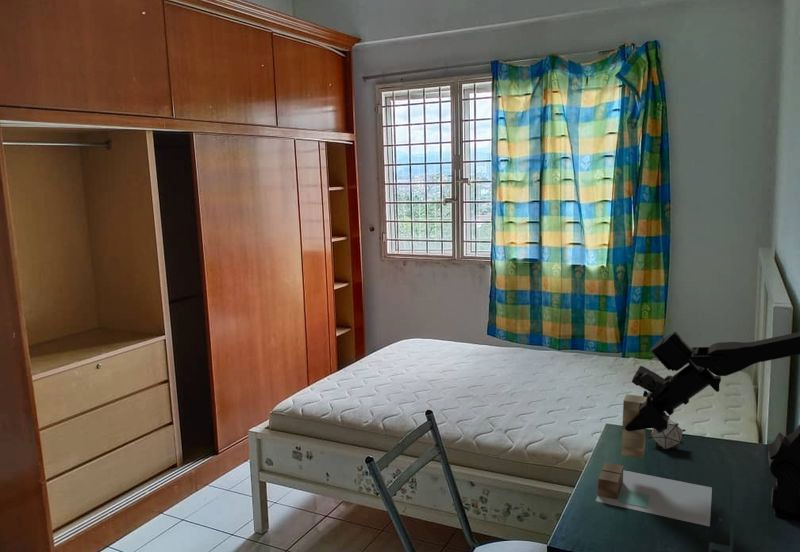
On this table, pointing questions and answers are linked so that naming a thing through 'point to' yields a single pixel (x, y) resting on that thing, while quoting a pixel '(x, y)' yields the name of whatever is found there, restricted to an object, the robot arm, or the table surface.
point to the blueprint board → (664, 498)
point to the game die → (668, 436)
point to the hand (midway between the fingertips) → (627, 425)
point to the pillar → (632, 439)
